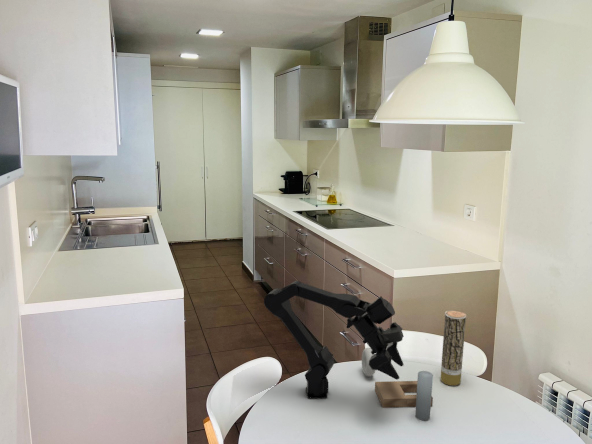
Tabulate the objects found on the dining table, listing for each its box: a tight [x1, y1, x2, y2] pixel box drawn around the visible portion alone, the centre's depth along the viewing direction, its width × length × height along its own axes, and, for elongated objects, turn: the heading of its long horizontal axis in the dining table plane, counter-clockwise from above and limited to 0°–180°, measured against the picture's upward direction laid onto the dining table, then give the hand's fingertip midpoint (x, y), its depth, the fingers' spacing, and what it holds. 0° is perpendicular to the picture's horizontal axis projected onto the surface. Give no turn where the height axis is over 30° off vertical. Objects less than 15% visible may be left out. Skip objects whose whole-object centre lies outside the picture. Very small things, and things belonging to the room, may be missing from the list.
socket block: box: [374, 380, 434, 409], centre depth 161 cm, size 16×11×3 cm
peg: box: [414, 370, 434, 422], centre depth 150 cm, size 4×4×14 cm
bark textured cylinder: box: [440, 310, 467, 387], centre depth 171 cm, size 7×7×25 cm
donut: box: [361, 347, 376, 377], centre depth 176 cm, size 10×3×10 cm, turn 6°
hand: (400, 372), depth 152 cm, fingers open, 9 cm apart
